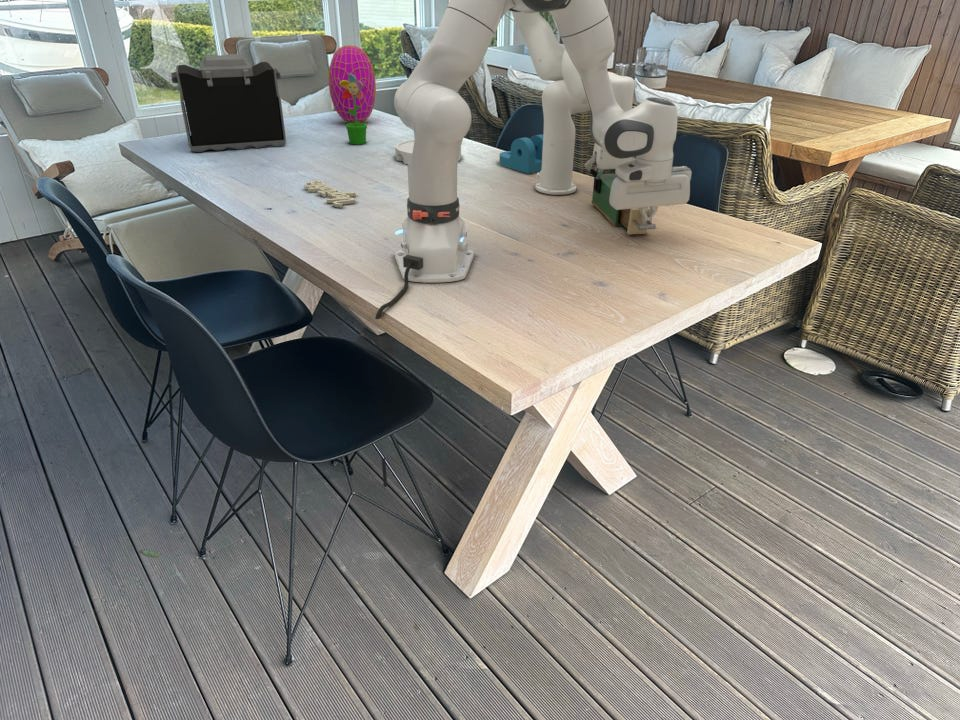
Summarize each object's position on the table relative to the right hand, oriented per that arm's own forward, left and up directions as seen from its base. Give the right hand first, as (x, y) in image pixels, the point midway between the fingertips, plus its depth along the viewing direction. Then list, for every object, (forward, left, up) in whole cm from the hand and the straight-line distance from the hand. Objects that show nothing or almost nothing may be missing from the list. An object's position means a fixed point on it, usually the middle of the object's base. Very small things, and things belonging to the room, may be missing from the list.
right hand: (609, 190), depth 194 cm
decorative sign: (-51, -64, -5) cm, 82 cm away
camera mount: (-51, +4, -5) cm, 51 cm away
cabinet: (+4, -2, -5) cm, 7 cm away
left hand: (+23, -7, -1) cm, 24 cm away
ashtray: (-75, -19, -5) cm, 78 cm away
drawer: (+15, -5, -5) cm, 16 cm away
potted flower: (-108, -32, -5) cm, 113 cm away
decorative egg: (-143, -20, -5) cm, 144 cm away
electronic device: (-129, -73, -5) cm, 148 cm away
